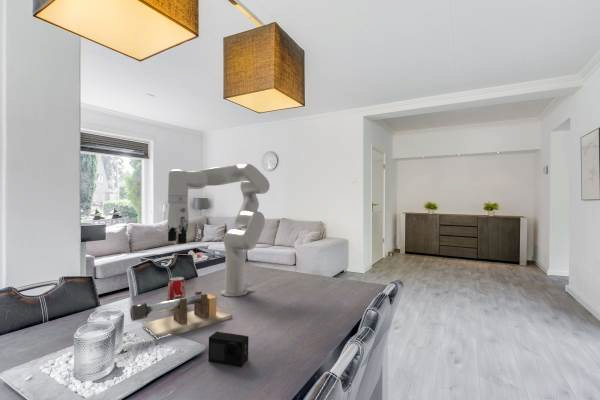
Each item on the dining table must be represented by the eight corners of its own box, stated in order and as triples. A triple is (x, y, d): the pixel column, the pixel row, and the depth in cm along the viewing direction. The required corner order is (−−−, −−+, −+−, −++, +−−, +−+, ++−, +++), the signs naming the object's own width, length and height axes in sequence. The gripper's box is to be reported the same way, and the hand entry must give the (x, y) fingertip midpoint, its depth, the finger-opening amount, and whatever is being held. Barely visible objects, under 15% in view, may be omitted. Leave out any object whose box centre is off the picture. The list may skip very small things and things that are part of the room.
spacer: (207, 310, 121) (207, 293, 121) (216, 315, 116) (216, 297, 116) (200, 312, 118) (200, 294, 119) (209, 317, 114) (209, 298, 114)
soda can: (178, 310, 124) (179, 280, 124) (163, 308, 125) (164, 279, 126) (188, 304, 131) (189, 277, 131) (173, 303, 132) (174, 275, 133)
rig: (213, 308, 126) (214, 284, 127) (232, 317, 117) (232, 292, 117) (142, 326, 107) (143, 298, 107) (157, 339, 97) (157, 308, 97)
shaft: (198, 302, 117) (198, 290, 117) (204, 305, 113) (204, 293, 113) (130, 318, 100) (130, 304, 100) (134, 322, 96) (135, 307, 96)
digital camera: (205, 364, 83) (205, 338, 83) (215, 354, 88) (216, 330, 88) (239, 370, 80) (239, 344, 80) (248, 360, 86) (248, 335, 86)
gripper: (196, 200, 119) (195, 243, 119) (178, 200, 131) (177, 239, 131) (177, 200, 114) (176, 245, 114) (160, 200, 126) (159, 240, 126)
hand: (176, 242), depth 122 cm, fingers open, 9 cm apart
